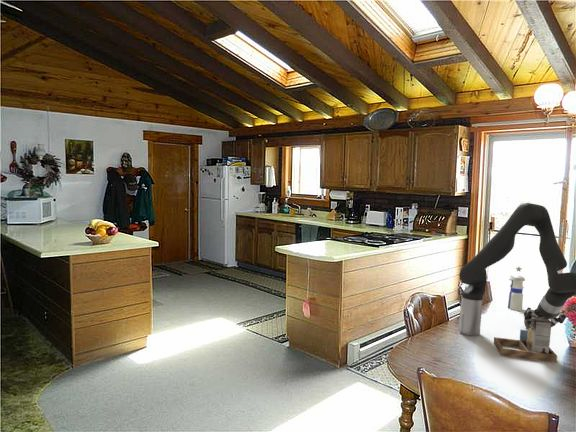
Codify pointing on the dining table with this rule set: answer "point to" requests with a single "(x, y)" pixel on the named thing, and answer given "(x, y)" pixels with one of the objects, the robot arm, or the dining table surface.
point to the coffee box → (539, 336)
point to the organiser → (522, 349)
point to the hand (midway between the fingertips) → (539, 323)
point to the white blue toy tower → (516, 292)
